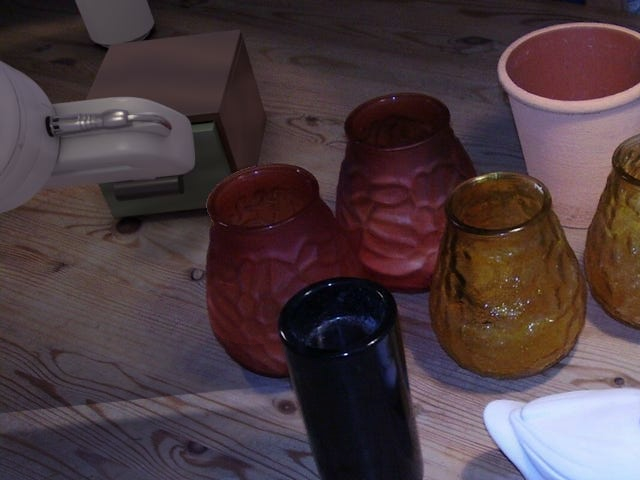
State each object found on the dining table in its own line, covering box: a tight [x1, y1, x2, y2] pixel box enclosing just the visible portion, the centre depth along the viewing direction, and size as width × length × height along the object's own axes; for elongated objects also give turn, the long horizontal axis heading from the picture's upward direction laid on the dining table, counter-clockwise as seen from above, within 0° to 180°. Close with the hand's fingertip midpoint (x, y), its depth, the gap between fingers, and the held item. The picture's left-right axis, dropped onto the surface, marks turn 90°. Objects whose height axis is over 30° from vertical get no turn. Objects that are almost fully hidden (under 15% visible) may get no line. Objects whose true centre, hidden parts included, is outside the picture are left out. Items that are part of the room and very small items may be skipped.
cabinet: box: [85, 29, 267, 219], centre depth 93 cm, size 15×13×10 cm
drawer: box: [98, 121, 232, 219], centre depth 90 cm, size 18×11×8 cm, turn 2°
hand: (79, 175), depth 70 cm, fingers open, 8 cm apart
